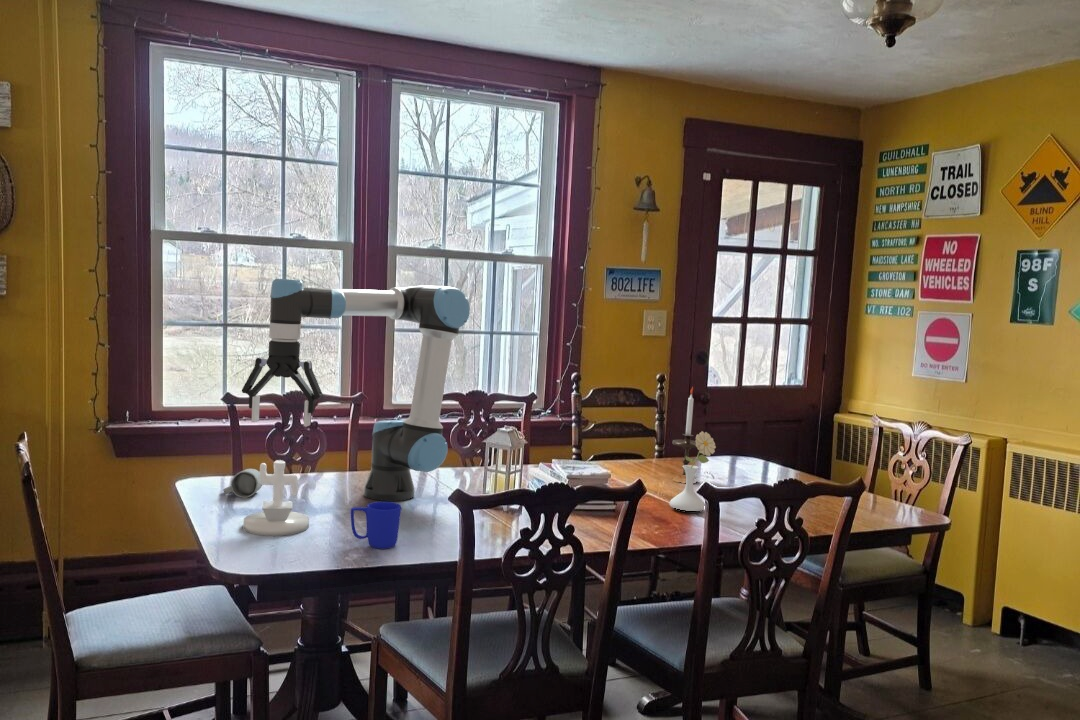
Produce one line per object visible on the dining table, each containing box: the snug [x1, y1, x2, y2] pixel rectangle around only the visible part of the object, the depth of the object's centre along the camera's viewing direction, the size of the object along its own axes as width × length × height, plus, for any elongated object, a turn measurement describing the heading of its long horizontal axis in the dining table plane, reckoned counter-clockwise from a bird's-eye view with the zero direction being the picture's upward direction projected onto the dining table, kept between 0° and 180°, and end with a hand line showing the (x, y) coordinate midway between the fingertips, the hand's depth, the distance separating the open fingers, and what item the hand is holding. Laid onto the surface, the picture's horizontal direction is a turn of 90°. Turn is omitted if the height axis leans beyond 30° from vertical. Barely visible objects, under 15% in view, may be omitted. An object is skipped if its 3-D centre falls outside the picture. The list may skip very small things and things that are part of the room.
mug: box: [350, 501, 402, 550], centre depth 203 cm, size 8×12×10 cm
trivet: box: [242, 511, 310, 537], centre depth 213 cm, size 16×16×2 cm
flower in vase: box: [668, 430, 717, 512], centre depth 259 cm, size 13×11×25 cm
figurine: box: [259, 459, 299, 521], centre depth 213 cm, size 7×9×15 cm
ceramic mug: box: [223, 468, 263, 499], centre depth 243 cm, size 11×8×8 cm
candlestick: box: [672, 385, 697, 475], centre depth 302 cm, size 11×11×35 cm
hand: (281, 423), depth 211 cm, fingers open, 13 cm apart
